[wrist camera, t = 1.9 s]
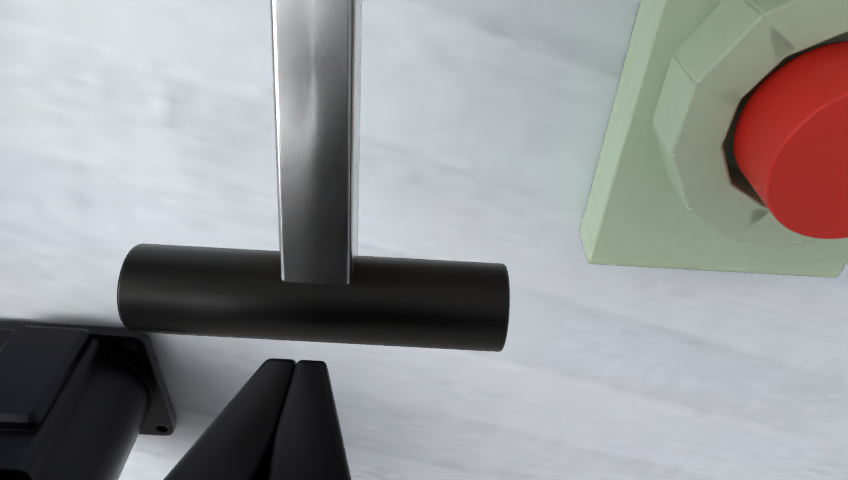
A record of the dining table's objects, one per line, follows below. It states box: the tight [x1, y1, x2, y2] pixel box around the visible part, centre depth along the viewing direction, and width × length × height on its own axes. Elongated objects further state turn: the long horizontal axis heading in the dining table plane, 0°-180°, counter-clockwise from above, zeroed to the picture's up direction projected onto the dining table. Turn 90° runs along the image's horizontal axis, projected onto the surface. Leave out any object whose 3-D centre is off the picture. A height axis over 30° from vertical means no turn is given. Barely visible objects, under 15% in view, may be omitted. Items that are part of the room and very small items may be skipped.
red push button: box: [733, 41, 848, 239], centre depth 14 cm, size 4×4×2 cm
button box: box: [579, 0, 848, 278], centre depth 16 cm, size 12×8×4 cm, turn 177°
